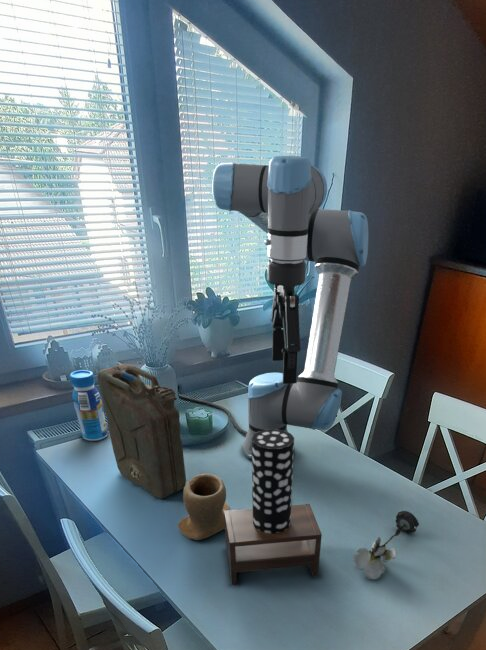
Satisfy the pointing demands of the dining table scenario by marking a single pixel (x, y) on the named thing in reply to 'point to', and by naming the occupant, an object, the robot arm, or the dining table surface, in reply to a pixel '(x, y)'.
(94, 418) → the beverage bottle
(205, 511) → the stone cup
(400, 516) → the artificial flower
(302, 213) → the robot arm
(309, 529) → the rack
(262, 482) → the spotted tube
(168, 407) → the container
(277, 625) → the dining table surface
